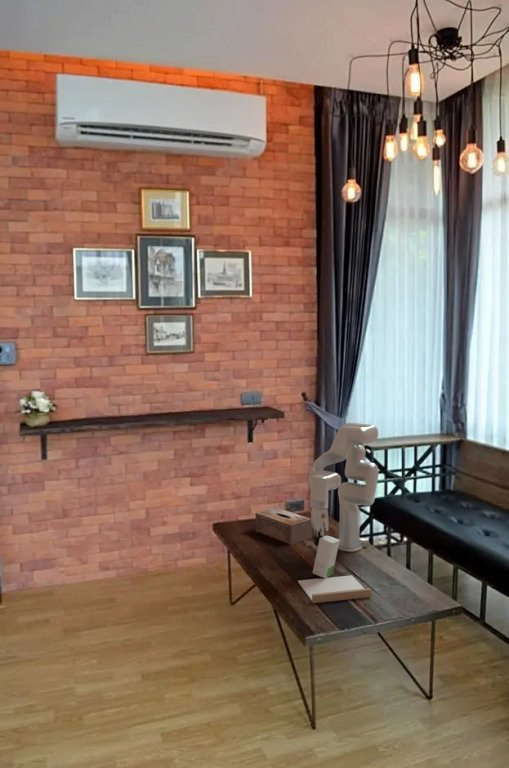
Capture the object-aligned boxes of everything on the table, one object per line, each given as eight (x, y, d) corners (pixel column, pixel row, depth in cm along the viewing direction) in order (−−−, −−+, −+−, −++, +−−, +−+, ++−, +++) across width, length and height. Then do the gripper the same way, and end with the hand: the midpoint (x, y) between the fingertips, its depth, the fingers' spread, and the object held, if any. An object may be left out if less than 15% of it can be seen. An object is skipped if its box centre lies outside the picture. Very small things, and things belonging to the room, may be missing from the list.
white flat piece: (351, 576, 255) (351, 569, 255) (371, 596, 236) (371, 589, 236) (297, 582, 249) (297, 575, 249) (313, 603, 231) (313, 595, 230)
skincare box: (324, 579, 251) (332, 543, 249) (311, 573, 254) (318, 538, 253) (333, 574, 258) (340, 539, 256) (319, 568, 261) (326, 534, 260)
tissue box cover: (311, 538, 301) (311, 518, 300) (291, 545, 292) (291, 525, 291) (275, 525, 320) (275, 507, 319) (255, 531, 311) (255, 512, 310)
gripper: (333, 508, 251) (332, 550, 253) (321, 498, 266) (320, 538, 267) (316, 509, 249) (315, 552, 251) (305, 499, 264) (304, 539, 266)
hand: (318, 545), depth 259 cm, fingers closed
